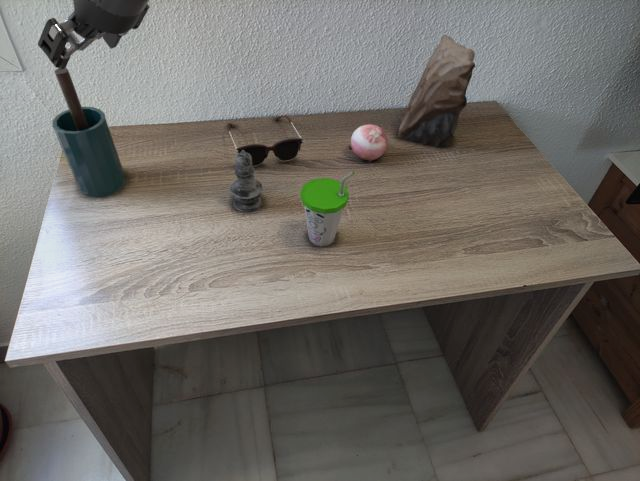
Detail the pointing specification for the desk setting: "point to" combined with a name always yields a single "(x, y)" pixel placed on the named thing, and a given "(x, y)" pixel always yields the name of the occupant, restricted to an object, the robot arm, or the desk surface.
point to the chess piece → (246, 185)
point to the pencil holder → (90, 153)
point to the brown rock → (439, 95)
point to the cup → (324, 208)
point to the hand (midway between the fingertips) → (83, 52)
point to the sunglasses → (272, 148)
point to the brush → (71, 99)
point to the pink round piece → (368, 142)
